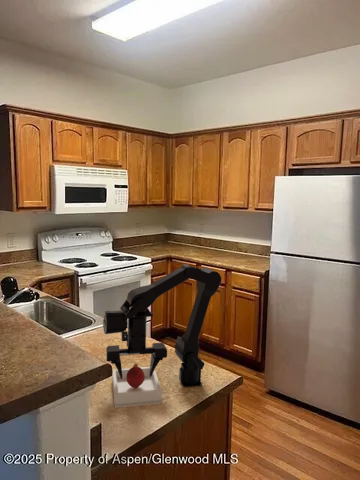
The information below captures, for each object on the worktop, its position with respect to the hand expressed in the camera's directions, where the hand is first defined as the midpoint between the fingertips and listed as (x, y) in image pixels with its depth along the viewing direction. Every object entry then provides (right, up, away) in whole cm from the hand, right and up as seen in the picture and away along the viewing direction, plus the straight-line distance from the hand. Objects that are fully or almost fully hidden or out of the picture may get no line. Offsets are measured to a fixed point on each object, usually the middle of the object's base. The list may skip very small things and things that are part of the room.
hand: (136, 377), depth 116 cm
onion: (0, -4, +1) cm, 4 cm away
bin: (0, -5, +1) cm, 5 cm away
